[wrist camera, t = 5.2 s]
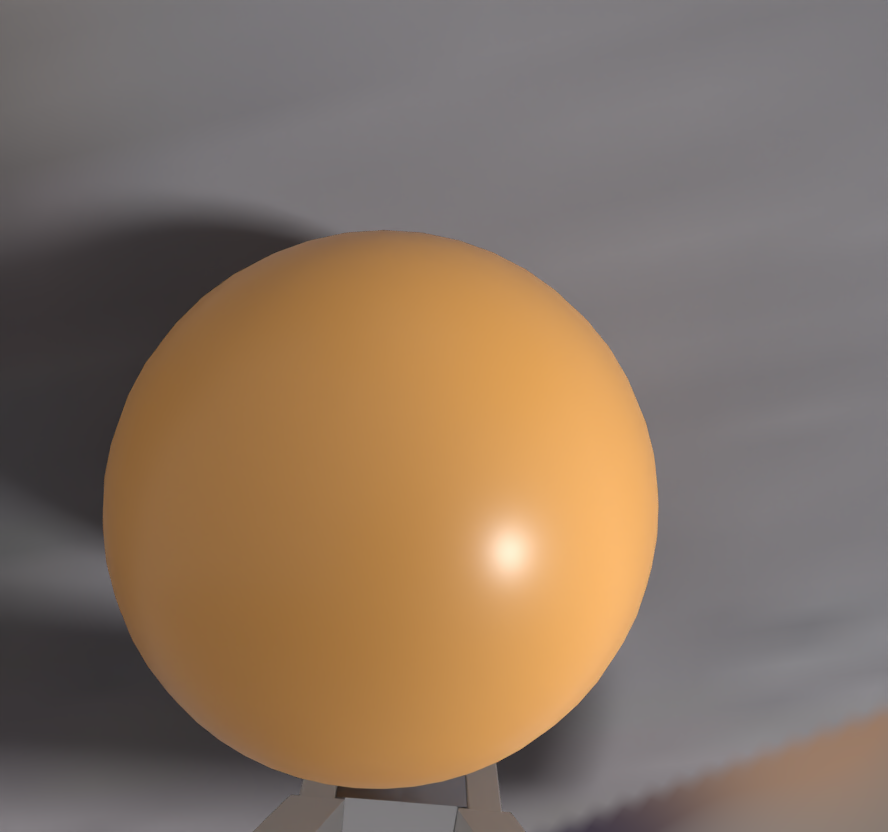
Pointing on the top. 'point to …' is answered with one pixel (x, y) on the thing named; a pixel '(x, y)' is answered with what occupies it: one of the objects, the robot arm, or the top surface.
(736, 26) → the top surface
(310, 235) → the top surface
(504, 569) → the ball
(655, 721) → the top surface
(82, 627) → the top surface
